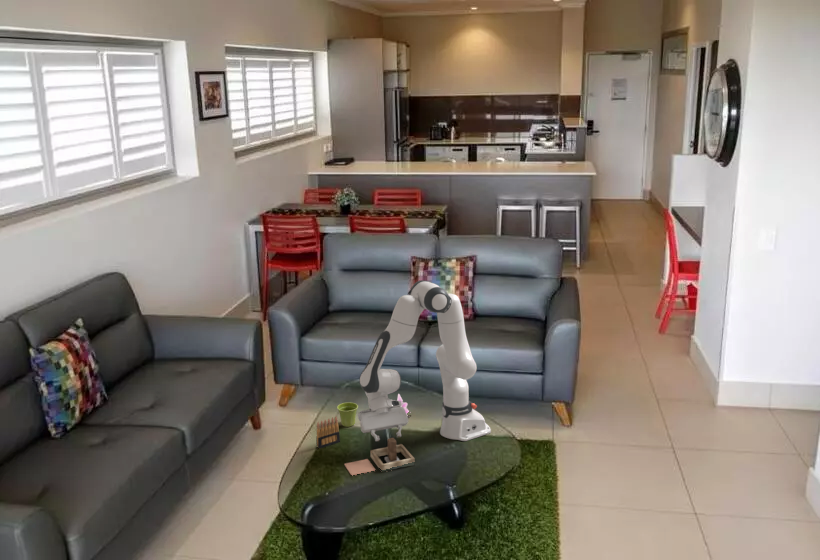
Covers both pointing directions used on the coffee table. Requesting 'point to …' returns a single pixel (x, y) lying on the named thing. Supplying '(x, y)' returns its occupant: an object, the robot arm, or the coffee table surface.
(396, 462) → the frame
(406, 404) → the lily
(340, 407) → the plant pot
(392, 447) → the wooden post
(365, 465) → the terracotta tile
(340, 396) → the coffee table surface
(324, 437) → the ammunition clip
